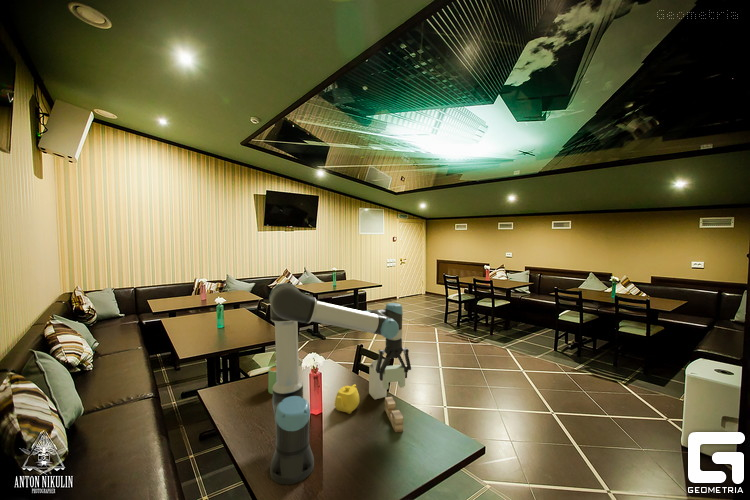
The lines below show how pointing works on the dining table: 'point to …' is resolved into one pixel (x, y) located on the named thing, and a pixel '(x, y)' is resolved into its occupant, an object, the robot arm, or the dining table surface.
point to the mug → (271, 378)
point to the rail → (394, 414)
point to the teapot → (347, 399)
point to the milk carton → (376, 382)
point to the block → (394, 375)
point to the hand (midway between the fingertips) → (393, 385)
